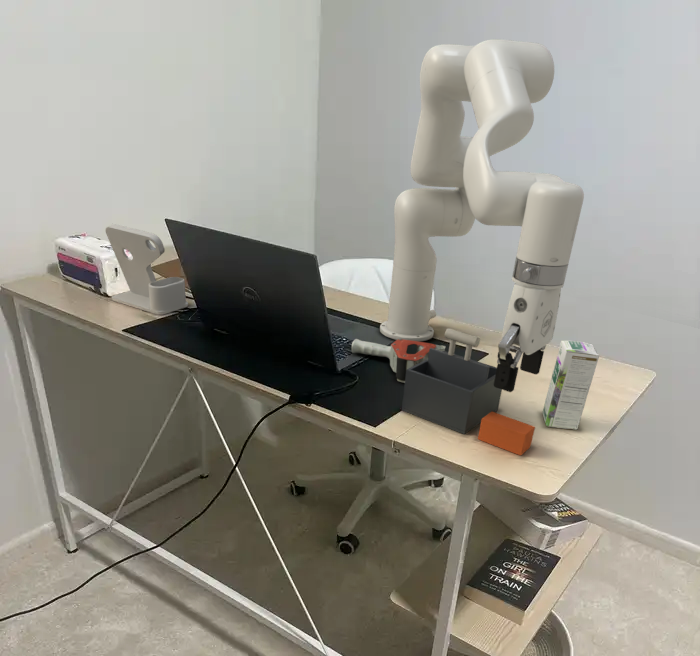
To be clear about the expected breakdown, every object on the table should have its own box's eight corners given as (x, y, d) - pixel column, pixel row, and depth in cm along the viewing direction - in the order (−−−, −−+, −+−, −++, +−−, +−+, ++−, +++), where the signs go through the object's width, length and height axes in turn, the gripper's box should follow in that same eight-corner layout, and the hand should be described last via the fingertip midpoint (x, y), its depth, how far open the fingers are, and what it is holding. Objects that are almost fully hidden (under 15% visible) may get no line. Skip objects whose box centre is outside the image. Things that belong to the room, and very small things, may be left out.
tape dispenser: (347, 356, 144) (374, 389, 127) (347, 332, 141) (375, 363, 124) (422, 349, 148) (459, 381, 131) (424, 326, 146) (461, 355, 129)
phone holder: (191, 305, 161) (187, 229, 151) (161, 316, 153) (154, 235, 144) (140, 290, 168) (132, 216, 158) (108, 299, 160) (99, 222, 151)
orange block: (487, 431, 115) (491, 411, 113) (530, 447, 111) (535, 426, 109) (477, 439, 112) (481, 418, 110) (520, 455, 109) (525, 434, 106)
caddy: (437, 388, 129) (448, 315, 121) (497, 410, 123) (513, 333, 115) (401, 410, 120) (410, 331, 112) (464, 434, 114) (479, 353, 106)
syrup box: (541, 412, 123) (559, 338, 115) (573, 416, 123) (593, 342, 115) (545, 427, 118) (565, 350, 111) (579, 430, 118) (600, 354, 110)
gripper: (539, 289, 89) (515, 404, 98) (584, 268, 101) (559, 372, 110) (489, 277, 93) (470, 389, 102) (539, 258, 105) (517, 359, 114)
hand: (516, 380), depth 106 cm, fingers open, 9 cm apart
